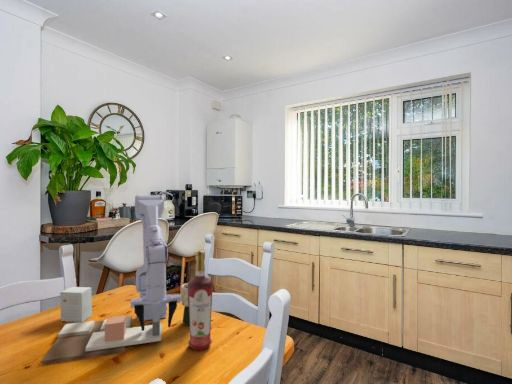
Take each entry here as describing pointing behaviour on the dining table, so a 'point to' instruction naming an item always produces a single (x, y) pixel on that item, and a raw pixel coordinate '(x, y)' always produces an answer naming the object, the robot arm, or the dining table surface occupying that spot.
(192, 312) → the liquor
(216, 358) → the dining table surface
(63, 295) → the small box
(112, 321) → the block
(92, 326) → the board
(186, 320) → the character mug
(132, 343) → the white tray
